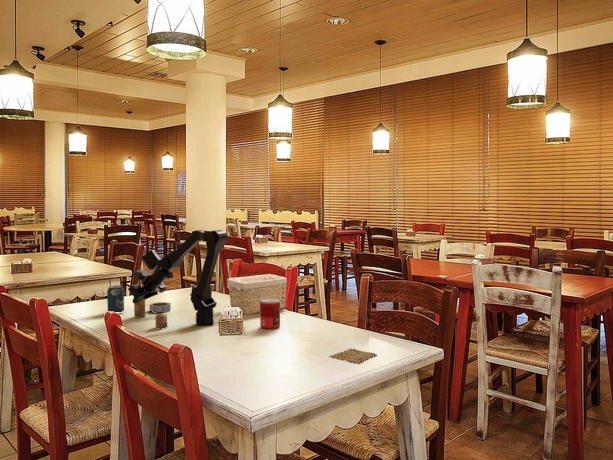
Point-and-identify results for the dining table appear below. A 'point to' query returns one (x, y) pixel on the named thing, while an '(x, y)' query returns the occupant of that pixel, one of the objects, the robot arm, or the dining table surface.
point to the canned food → (270, 313)
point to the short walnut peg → (161, 320)
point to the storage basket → (256, 291)
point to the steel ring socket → (160, 307)
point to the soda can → (115, 298)
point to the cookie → (354, 355)
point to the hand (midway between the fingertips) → (137, 301)
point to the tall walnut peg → (139, 308)
